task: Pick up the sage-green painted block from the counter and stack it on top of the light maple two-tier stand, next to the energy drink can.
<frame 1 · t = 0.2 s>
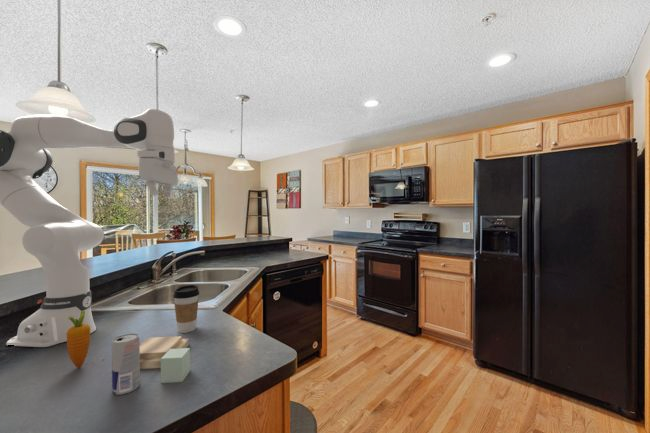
hand: (160, 196, 99), 48 cm above the worktop, tool pointing down, fingers open, 8 cm apart
energy drink: (126, 389, 66), on the worktop
coffee cup: (186, 330, 100), on the worktop
carrot: (79, 368, 75), on the worktop
block: (176, 376, 71), on the worktop
stand: (156, 356, 81), on the worktop
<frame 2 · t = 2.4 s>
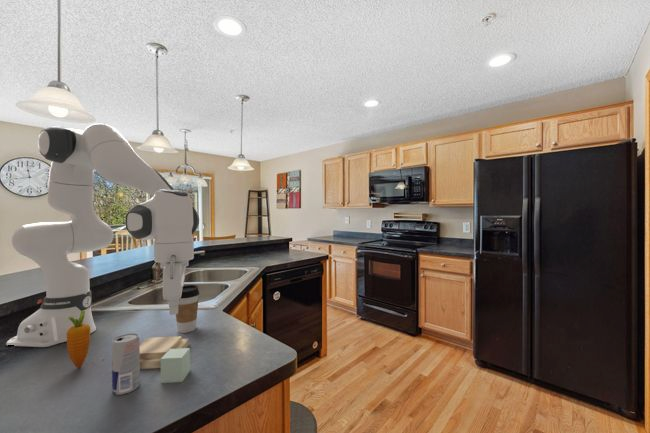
hand: (175, 307, 71), 17 cm above the worktop, tool pointing down, fingers open, 8 cm apart
nothing on the worktop moved.
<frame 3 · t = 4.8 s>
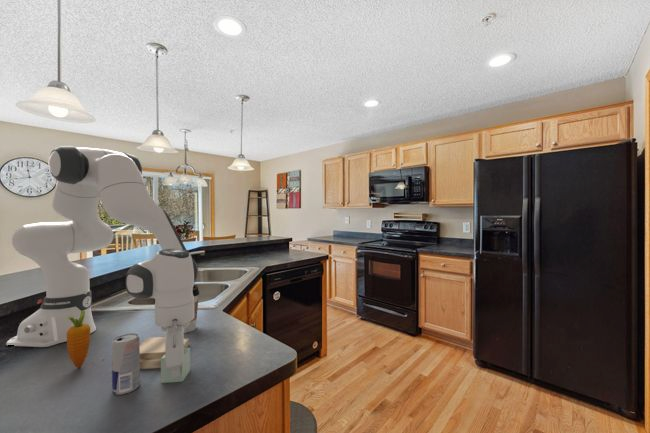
hand: (176, 367, 71), 2 cm above the worktop, tool pointing down, fingers closed on block, 6 cm apart
block: (176, 376, 71), on the worktop, touching gripper
everything else where it was.
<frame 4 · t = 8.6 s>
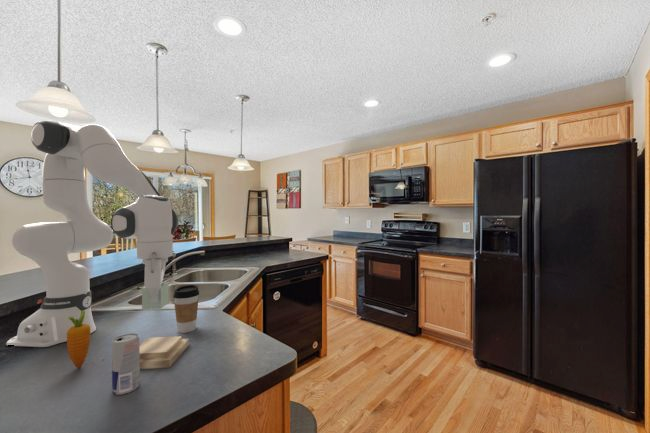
hand: (155, 298, 81), 17 cm above the worktop, tool pointing down, fingers closed on block, 6 cm apart
block: (155, 305, 81), point 15 cm above the worktop, touching gripper
everything else where it was.
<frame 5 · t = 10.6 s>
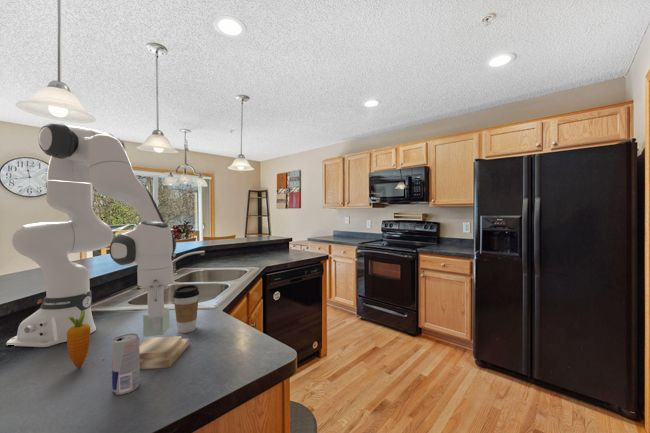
hand: (156, 324, 81), 9 cm above the worktop, tool pointing down, fingers closed on block, 6 cm apart
block: (157, 332, 81), point 7 cm above the worktop, touching gripper
everything else where it was.
when the fingers open (7 cm above the worktop, at t = 12.5 s): block stays where it is, resting on stand.
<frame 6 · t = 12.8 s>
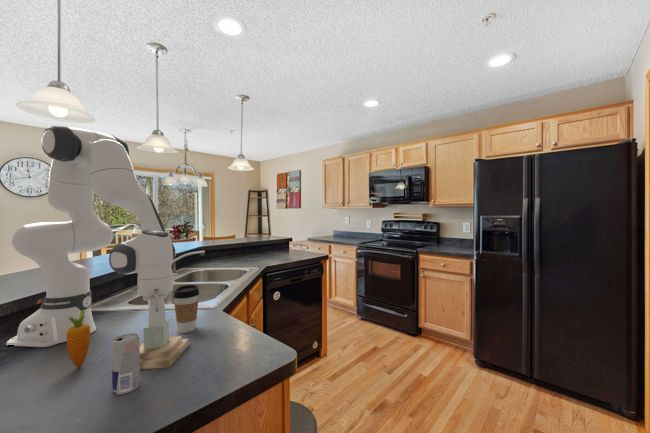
hand: (156, 333, 81), 7 cm above the worktop, tool pointing down, fingers open, 8 cm apart
block: (156, 344, 81), point 3 cm above the worktop, touching stand
everything else where it was.
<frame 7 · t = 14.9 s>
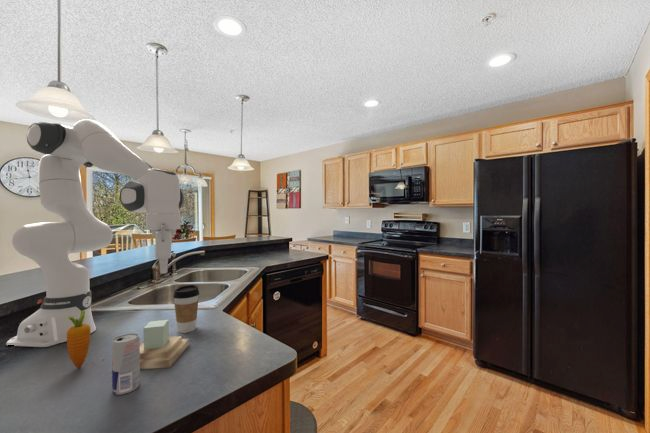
hand: (164, 270, 83), 25 cm above the worktop, tool pointing down, fingers open, 8 cm apart
nothing on the worktop moved.
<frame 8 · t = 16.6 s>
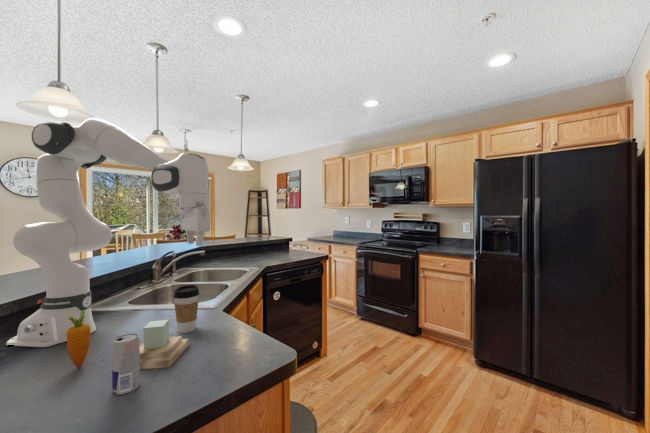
hand: (194, 244, 92), 31 cm above the worktop, tool pointing down, fingers open, 8 cm apart
nothing on the worktop moved.
at the end: block inside the target area on the stand (0.0 cm from its centre), point 3.5 cm above the stand's base; block tilted 0°; the gripper is holding nothing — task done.
